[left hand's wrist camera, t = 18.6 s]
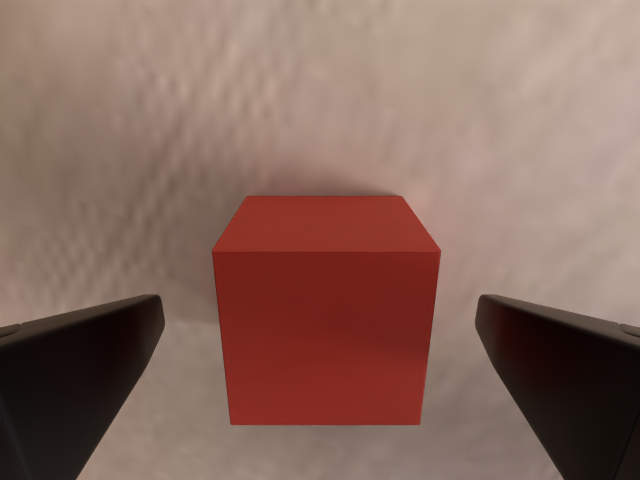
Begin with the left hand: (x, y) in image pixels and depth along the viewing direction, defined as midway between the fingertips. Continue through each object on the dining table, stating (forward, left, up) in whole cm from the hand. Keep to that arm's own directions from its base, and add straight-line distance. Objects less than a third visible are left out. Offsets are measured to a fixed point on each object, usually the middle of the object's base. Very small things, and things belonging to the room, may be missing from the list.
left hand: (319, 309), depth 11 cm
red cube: (0, 0, -3) cm, 3 cm away
